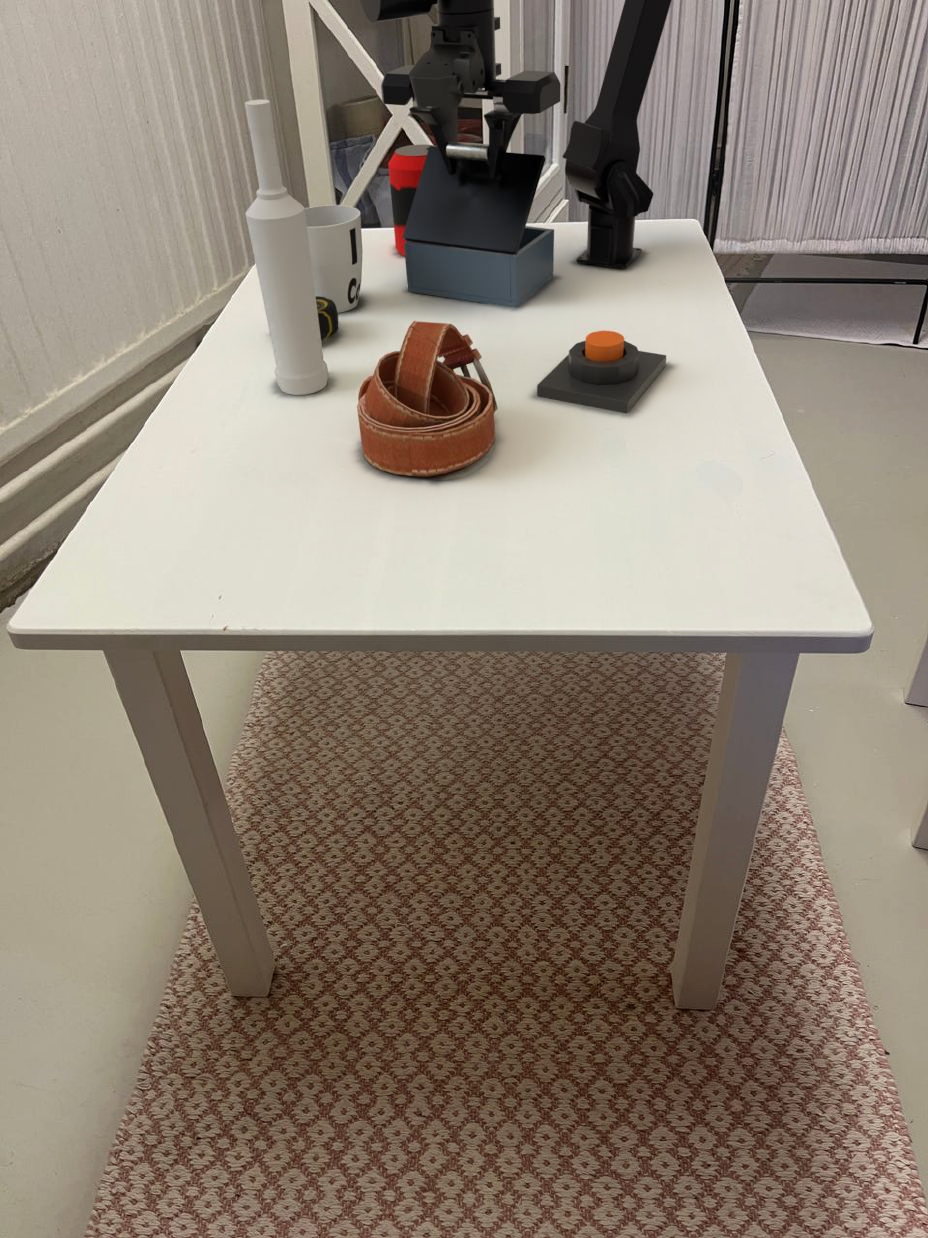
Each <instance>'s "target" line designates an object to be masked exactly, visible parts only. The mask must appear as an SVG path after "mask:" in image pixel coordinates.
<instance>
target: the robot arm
mask: <svg viewBox="0 0 928 1238" xmlns="http://www.w3.org/2000/svg"><path fill="white" fill-rule="evenodd" d="M359 1H360V5H361V7H362V10H363V13H364V16H365V17H366V18H367V20H368V21H369V22H370V23H373V24H374V23H380V22H386V21H387V22H389V21H395V20H400V19H401V20H402V19H408V18H415V17H422V16H423V17H424V16H427V15H429V13H430V12H431V10H432V8H433V5H436V16H437V23H436V24H433V25H431V31H430V45H429V50H427V51H425V52H424V53H423V54H422V55H421V56H420V58H419V59H418V60H417V61H416V63H415V64H405V65H403V66H401V67H397V68H396V69H393V70H390V71H388V72H386V73H384V76H383V78H382V81H381V84H380V90H381V92H380V93H381V101H382V104H383V105H392V106H393V105H394V106H407V105H408V104H409V103H410V101H411V102H412V106H411V107H409V109H408V110H409V112H410V114H411V115H416V116H417V117H419V118H420V119H421V120H422V121H423V122H425V124H426V125H427V126H428V128H429V130H430V132H431V134H432V136H433V139H434V141H435V144H436V146H438V148H439V151H440V153H441V156H442V159H443V161H444V164H445V166H446V169H447V171H448V174H449V175H453V174H455V173H456V169H457V162H456V161H455V159H454V158H449V157H448V156H447V153H446V147H447V144H448V142H450V141H451V142H459V141H458V107H459V105H461V102H462V99H473V100H491V101H492V103H493V109H492V110H490V111H488V112H486V113H485V114H483V118H484V121H485V122H486V125H487V127H488V144H489V170H490V178H491V179H495V178H497V177H498V174H499V171H500V168H501V166H502V163H503V160H504V157H505V154H506V152H507V151H508V149H509V145H510V141H511V140H512V137H513V135H514V132H515V130H516V128H517V125H518V124H519V121H520V119H521V117H522V115H524V114H525V115H537V114H541V113H543V112H545V111H546V110H548V109H550V108H551V107H554V106H555V105H557V104H559V103H560V102H561V88H562V87H561V82H560V80H559V78H558V75H557V74H556V72H555V71H547V70H546V71H545V70H523V71H521V72H518V73H517V74H515V75H512V76H510V77H509V78H507V79H498V78H497V77H499V76H501V75H502V63H501V62H496V33H495V32H496V31H499V30H500V29H501V17H500V16H495V0H359ZM672 1H673V0H624V3H623V7H622V10H621V14H620V17H619V21H618V26H617V28H616V33H615V35H614V40H613V43H612V47H611V51H610V55H609V58H608V62H607V66H606V69H605V73H604V76H603V80H602V84H601V87H600V91H599V95H598V99H597V101H596V102H597V103H596V105H595V107H594V110H593V111H592V112H591V114H590V115H589V116H588V117H587V119H586V120H585V121H584V122H583V121H580V120H574V121H573V122H572V125H571V127H570V132H569V133H570V134H569V140H568V144H567V147H566V149H565V151H564V153H563V155H562V159H565V167H564V174H565V176H566V178H567V180H568V183H569V185H570V186H571V187H572V188H573V189H574V192H575V196H576V199H577V201H578V203H583V204H586V205H588V214H587V237H586V250H584V251H583V252H582V253H581V254H579V255H578V256H577V257H576V262H577V263H579V264H586V265H595V266H602V267H609V268H617V269H626V268H627V267H628V266H630V265H631V264H632V263H633V262H634V261H635V260H636V259H637V258H638V257H639V256H640V255H642V254H643V248H641V247H635V246H634V240H635V228H636V227H635V226H636V217H638V215H640V214H642V213H643V214H644V213H647V212H648V211H649V209H650V207H651V204H652V201H653V197H654V192H653V191H652V189H651V188H650V187H649V186H648V185H647V183H645V181H644V180H643V179H642V177H640V175H639V174H638V173H637V170H638V165H639V159H640V153H641V143H640V135H639V128H638V117H639V115H640V110H641V106H642V103H643V100H644V96H645V93H646V90H647V86H648V82H649V79H650V76H651V73H652V69H653V66H654V63H655V59H656V56H657V53H658V49H659V45H660V42H661V38H662V35H663V31H664V28H665V24H666V22H667V18H668V15H669V11H670V8H671V4H672Z"/></svg>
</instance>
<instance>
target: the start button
mask: <svg viewBox="0 0 928 1238" xmlns="http://www.w3.org/2000/svg"><path fill="white" fill-rule="evenodd" d="M585 340H586V342H585V357H587V358H588V359H590V360H595V361H600V362H604V361H615V360H618V359H621V358H622V357H623V350H624V341H625V337H624V335H623V334H621V333H620V332H616V331H612V330H596V331H592V332H591V333H589V334H587V335H586V337H585Z"/></svg>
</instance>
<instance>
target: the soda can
mask: <svg viewBox="0 0 928 1238" xmlns="http://www.w3.org/2000/svg"><path fill="white" fill-rule="evenodd" d="M429 146H436V147H438V146H437V145H434V144H411V145H405V146H401V147H398V148H396V149H395V151H394V153H393V154H392V157H391V158H390V159H389V162H388V163H387V165H388V177H389V186H390V187H389V188H390V199H391V210H392V222H393V231H394V244H395V250H396V251H397V252H398V253H399V254H400V255H401V256H404V257H405V250H404V243H405V242H406V241H405V240H404V239H403V238H402V237H403V233H404V230H405V227H406V223H407V220H408V217H409V213H410V210H411V207H412V203H413V200H414V196H415V193H416V190H417V186H418V183H419V180H420V176H421V173H422V170H423V166H424V163H425V159H426V156H427V153H428V149H429Z"/></svg>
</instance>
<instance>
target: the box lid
mask: <svg viewBox="0 0 928 1238" xmlns="http://www.w3.org/2000/svg"><path fill="white" fill-rule="evenodd" d="M436 146H437V145H434V146H429V149H428V153H427V156H426V159H425V163H424V166H423V170H422V173H421V176H420V180H419V183H418V186H417V190H416V193H415V196H414V200H413V203H412V207H411V210H410V213H409V217H408V220H407V223H406V227H405V230H404V233H403V237H402V238H403V239H404V240H405V241H413V242H421V243H428V244H436V245H444V246H452V247H460V248H467V249H475V250H483V251H491V252H498V253H506V254H514V255H517V253H518V250H519V246H520V243H521V240H522V236H523V233H524V230H525V226H527V222H528V219H529V215H530V213H531V210H532V207H533V203H534V199H535V196H536V193H537V189H538V186H539V183H540V179H541V177H542V172H543V169H544V166H545V162H546V159H547V158H546V157H545V155H544V154H535V153H534V154H532V153H521V152H507V151H506V154H505V157H504V160H503V163H502V166H501V168H500V171H499V174H498V177H497V178H495V179H491V178H490V170H489V143H478V142H477V143H476V142H475V143H474V142H462V141H458V142H451V141H450V142H448V144H447V147H446V153H447V156H448V157H449V158H454V159H455V161H456V162H457V169H456V173H455V174H453V175H449V174H448V171H447V169H446V166H445V164H444V161H443V159H442V156H441V153H440V151H439V148H438V147H436Z"/></svg>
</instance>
